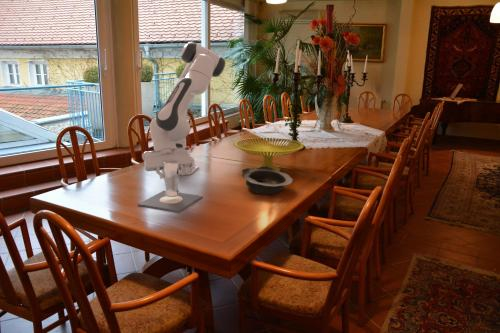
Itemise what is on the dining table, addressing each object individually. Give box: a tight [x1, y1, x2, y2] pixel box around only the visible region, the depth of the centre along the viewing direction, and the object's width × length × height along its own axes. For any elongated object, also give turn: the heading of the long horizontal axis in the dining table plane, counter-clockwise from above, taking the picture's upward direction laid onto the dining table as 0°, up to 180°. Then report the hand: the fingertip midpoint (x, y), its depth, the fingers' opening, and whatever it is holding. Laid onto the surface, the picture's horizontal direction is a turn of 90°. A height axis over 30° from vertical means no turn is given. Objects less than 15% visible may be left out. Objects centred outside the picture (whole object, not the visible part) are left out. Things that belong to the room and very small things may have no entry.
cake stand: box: [233, 137, 305, 172], centre depth 226 cm, size 40×40×15 cm
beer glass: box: [162, 160, 180, 197], centre depth 171 cm, size 7×7×15 cm
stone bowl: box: [241, 165, 294, 195], centre depth 191 cm, size 25×25×9 cm
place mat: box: [137, 189, 203, 214], centre depth 173 cm, size 20×20×1 cm
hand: (171, 176), depth 170 cm, fingers closed on beer glass, 7 cm apart
